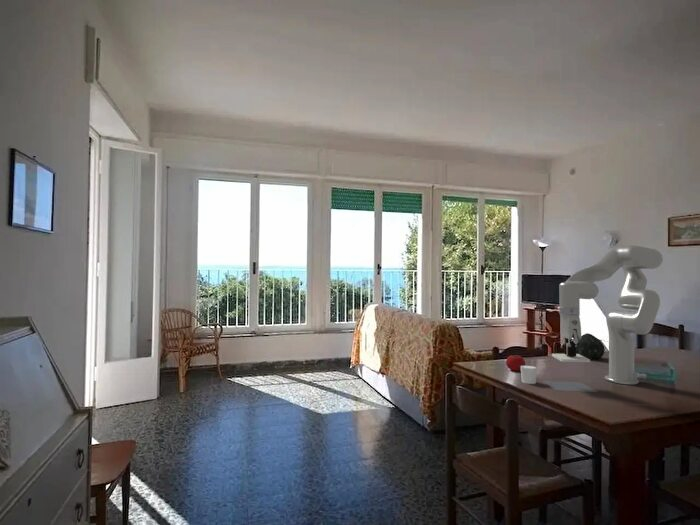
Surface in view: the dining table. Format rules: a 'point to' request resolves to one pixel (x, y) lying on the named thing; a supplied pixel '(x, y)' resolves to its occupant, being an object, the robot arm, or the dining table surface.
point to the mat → (569, 386)
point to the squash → (590, 347)
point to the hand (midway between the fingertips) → (570, 354)
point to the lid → (570, 357)
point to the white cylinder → (528, 374)
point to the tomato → (515, 362)
